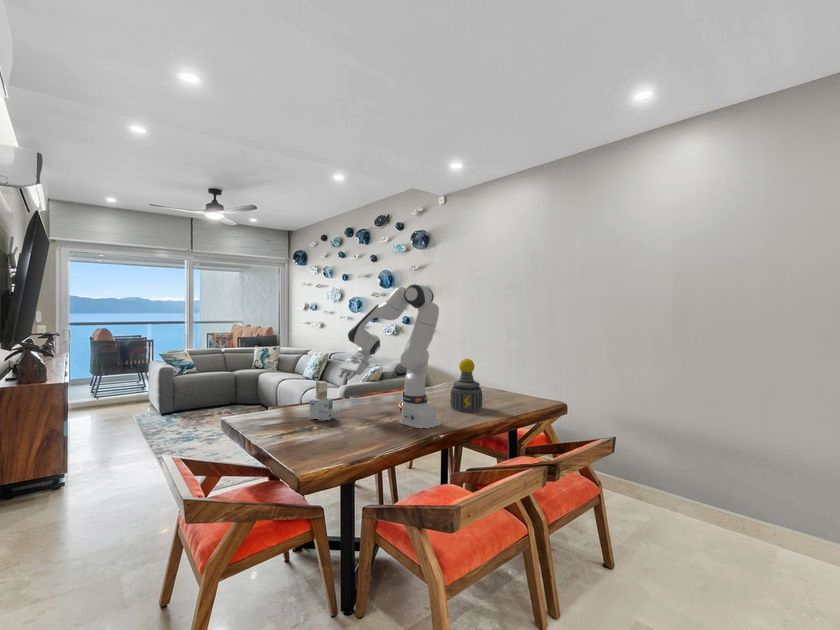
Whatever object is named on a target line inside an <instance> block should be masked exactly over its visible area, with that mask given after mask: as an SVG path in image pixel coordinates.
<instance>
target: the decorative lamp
mask: <svg viewBox="0 0 840 630" xmlns="http://www.w3.org/2000/svg"><path fill="white" fill-rule="evenodd" d="M458 367H459V371H461V373H460V376H459V379H458V380H455V381H454V382H453V386H452V387H451V389H450V399H449V400H450V401H449V402H450V403H449V404H450V408H451V409H452V410H454V411H456V412H461V413H475V412H474V411H476V412H479V411H480V410H481V409H482V407H483V399H484V398H483V390H482V388H481V387H480V384H481V383H480V382H478V381H476V380H475V378H474V375H473V372H474V370H475V363H474V361H473V360H471V358H464V359H462V360H461V361H460V362H459V365H458Z"/></svg>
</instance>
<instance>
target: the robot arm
mask: <svg viewBox="0 0 840 630" xmlns="http://www.w3.org/2000/svg"><path fill="white" fill-rule="evenodd" d="M434 297H435V296H434V292H433V291H432V290H431V289H430V288H429V287H426V286H424V285H422V284H416V283H414V284H410V285H408V286H407V287H403V286H398V287H396V288H395V289H394V291H392V292H391V294H390V295H389V296H388V298H387V299H386V300H385V301H384V302H383V303H382V304H377V305H375V306H374V307H372V308H371V309H370V310H369V311H368V312H367V313H366V314H365V315H364V316H363V317H362V318H361V319H360V321H358V322H357V323H356V324H355V325H354V326H352V327H351V328H350V329H349V331H348V333H347V337H348V341H349V342H350V343H353V344H354V345H356V346H357V347H359V348H357V349H355V351H353V354H351V356H350V358H347V359H345V361H343V363H342V364H341V365H340V367H339V370H340V373H339V375H338V378H340V379H343V377H344V375H345V374H347V373H348V374H349V375H347V377H346V380H348V381H351V379H353V378H354V377H355V376H356V375H357V376H360V375H362V374H363V373H364V372H365V370H366V369H367V368H368V367H369V366H370V365H371V362H370V361H369V360H370V358H371V357H372V355H375V354H376V353H377V352H378V351H379V349H380V348H381V339H380V337H379V336H377V334H374V333H370V332H369V331H367V330H366V329H365V327H366V326H367V325H368V324H369V323H370V322H371V321H372V320H373V319H375V318H376V319H377V318H379V319H383V320H385V321H386V320H387V321H395V320H397V319H399V318H400V317H401V315H402V314H403V313H404V311H405V310H406V309H407V307H409V305H410V306H412V307H413V308H414V309H417V315H416V319H415V322H414V324H413V325H414V326H413V328H412V331H411V334H410V337H409V339H408V341H407V343H406V345H405V347H404V350H403V353H401V356H400V364H401V366H402V367H403V368H405V369H406V373H405V376H404V388H403V389H404V393H403V405H402V407H401V415H400V420H399V422H398V423H399V424H401V425H405V426H409V427H412V428H416V429H419V428H420V429H422V428H426V429H431V427H432V428H436V426H437V427H439V426H441V422H440V421H438V420H437V415H436V412H435V410H434V409H433V408H432V407H431V405H430V404H429V403H428V400H429V397H428V396H427V395H426V381H427V380H426V379H427V378H426V377H427V373H428V372H427V371H428V367H429V366H428V365H429V358H430V353H429V351H428V348H429V345H430V344H431V342H432V340H433V337H434V334H435V331H436V328H437V325H438V320H439V315H440V307H439V305H438V304H436V303H435V302H434Z"/></svg>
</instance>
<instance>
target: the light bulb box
mask: <svg viewBox="0 0 840 630" xmlns="http://www.w3.org/2000/svg"><path fill="white" fill-rule="evenodd" d="M333 398H334V397H327V399H324V400H319V399H316V397H313V398H311V399H309V420H310V419H318V420H317V421H325V420H329V421H330V420H331V419H333V418H332V417H333V406H334V404H333V400H334V399H333Z"/></svg>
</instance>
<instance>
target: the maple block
mask: <svg viewBox="0 0 840 630" xmlns="http://www.w3.org/2000/svg"><path fill="white" fill-rule="evenodd" d="M315 398H316V399H319V400H324V399H327V398H328V382H327V381H325V380H317V381H315Z"/></svg>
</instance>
